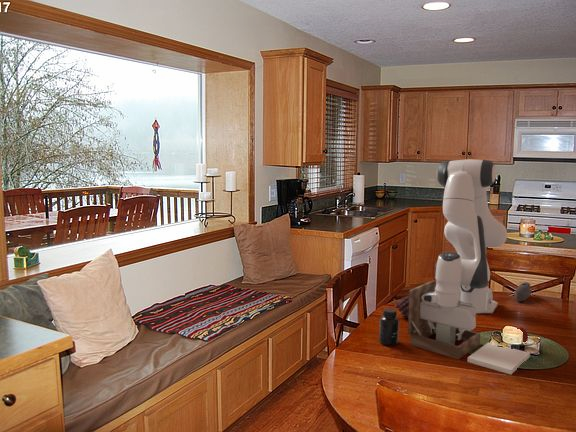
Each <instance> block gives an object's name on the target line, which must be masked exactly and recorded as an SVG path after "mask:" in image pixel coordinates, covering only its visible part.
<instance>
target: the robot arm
mask: <svg viewBox="0 0 576 432" xmlns="http://www.w3.org/2000/svg"><path fill="white" fill-rule="evenodd" d="M497 174H498V173H497V168H496V165H495V163H494V162H493V160H489V159H482V160H481V159H476V158H475V159H473V158H471V159H469V158H467V159H466V158H465V159H457V160H444V161H441V162H440V163H439V164H438V167H437V169H436V179H437V182H438V183H439V184H440V185H441V186H442V187H444V191H443V198H442V200H443V201H442V214H443V216H444V218H445V220H447V223H446V224H445V226H444V231H443V233H444V236H445V239H446V241H448V243H450V244H451V245H452V246H453V247H454V249H455V251H456V252H453V251H446V252H442V253H440V254H439V255H438V256H437V257H438V258H437V261H436V263H435V265H434V278H435V281H436V283H435V291H431V292H428V293H425V294H423V295H422V296H421V299H422V301H421V303H420V313H421V319H424V320H428V325H429V327H430V328H431V330H430V332H431V333H434V334H435V335H436V328H435V327H434V325H433V323H434V322H436V323H441V324H445V325H449V326H452V327H456V328H459V331H460V333H459V334H456V335H455V337H456V338H455V341H456V340H457V341H462V340H461V336H462V334H463V332H464V331H465V330H468V331H473V330H474V329H475V328H476V325H477V323H476V322H477V320H476V315H477V314H493V313H494V311H495V310H496V308H497V307H498V305H499V304H498V302H497V301H495V300H493V295H494V294H493V291H492V290H491V289H490V287H489V286H488V284H489V281H490V279H491V271H490V266H489V263H488V256H487V248H497V247H498V248H499V247H501V246H503V245H504V244H505V243H506V242H507V240H508V239H507V238H508V230H507V228H506V226H505V225H504V224H503V223H501V222H500V221H498V220H497V218H495V217H494V215H493V214H492V213H491V211H490V207H489V204H488V194H487V187H491V186H492V185H494V183H495V181H496V178H497ZM434 334H433V335H434Z"/></svg>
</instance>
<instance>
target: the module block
mask: <svg viewBox="0 0 576 432" xmlns="http://www.w3.org/2000/svg"><path fill="white" fill-rule="evenodd" d="M455 333H456V327H452V326H449V325H445V324H441V323H436V333H435V340H437V341H441V342H444V343H448V344H452V345H455V346H456V339H455Z"/></svg>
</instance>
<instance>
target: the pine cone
mask: <svg viewBox="0 0 576 432" xmlns="http://www.w3.org/2000/svg"><path fill="white" fill-rule="evenodd" d="M394 309H398V312H400V315H402V316H403V317H405V318H407V319H408V316H409V295H405V296H404V297H402V299H399V300H395V305H394Z"/></svg>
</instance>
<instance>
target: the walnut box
mask: <svg viewBox="0 0 576 432" xmlns="http://www.w3.org/2000/svg"><path fill="white" fill-rule="evenodd" d="M435 287H436V280H433V279H432V280H430V281H428V282H425V283H424V284H421V285H419V286H416V287H414V288H411V289H409V290H408V291H409V293H408V296H409V316H408V318H407V320H408V321H407V323H408V324H407V334H408V335H410V341H409V345H410V346H412V347H416V348H419V349H422V350H425V351H428V352H433V353H436V354H439V355H443V356H446V357H450V358H453V359H456V360H460V359H462V357H464V356H465V355H467V354H468V353H469V352H472V350H474V349H476V348H477V347H478V346H479V345H481V335H482V334H481V333H480V332H477V331H473V330H471V331H468V330H465V331H464V332H463V334H462V336H461V340H460V341H463V342H462V343H460V344H459V345H456V344H455V345H452V344H448V343H444V342H441V341H437V340H436V339H433V338H429V337H430V336H432V335H434V333H431V332H430V330H431V328H430V327H429V325H428V320H424V319H421V313H420V303H421V301H422V299H421V296H422V295H423V294H425V293H428V292H431V291H435ZM433 325H434V327H435V328H436V322H434V323H433ZM459 333H460V331H459V328H456V333H455V335H456V334H459ZM455 338H456V337H455Z"/></svg>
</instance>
